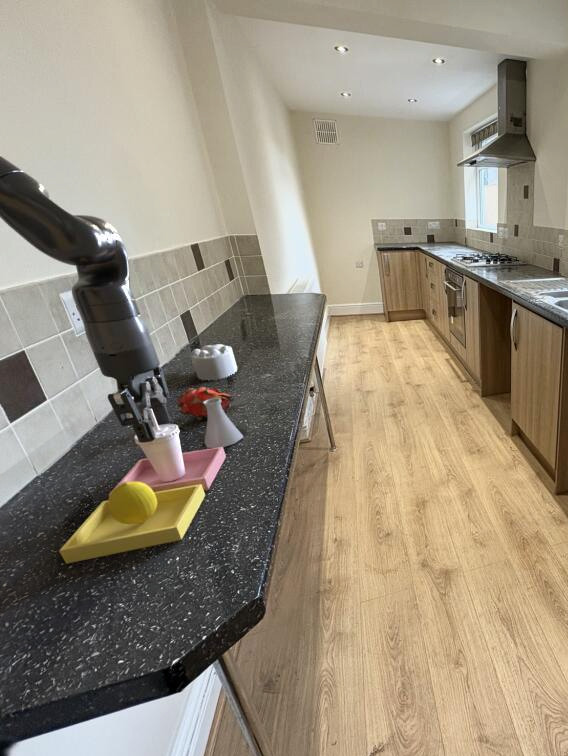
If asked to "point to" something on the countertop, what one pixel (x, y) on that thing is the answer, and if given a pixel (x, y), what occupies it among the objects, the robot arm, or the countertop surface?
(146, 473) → the rose tray
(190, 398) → the dragon fruit
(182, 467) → the smoothie
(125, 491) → the lemon
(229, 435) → the flask
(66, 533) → the countertop surface
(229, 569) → the countertop surface
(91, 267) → the robot arm
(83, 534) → the yellow tray
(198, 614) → the countertop surface
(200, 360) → the lumpy-topped squat cylinder
